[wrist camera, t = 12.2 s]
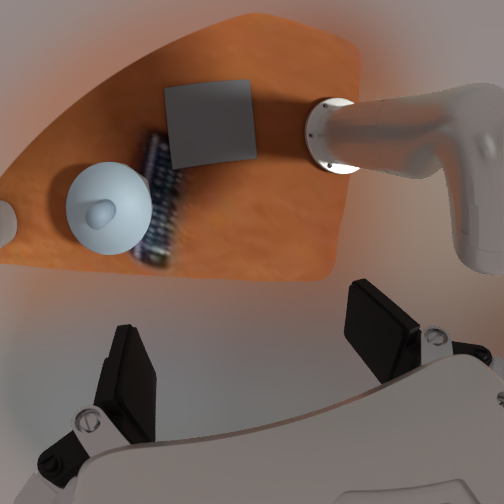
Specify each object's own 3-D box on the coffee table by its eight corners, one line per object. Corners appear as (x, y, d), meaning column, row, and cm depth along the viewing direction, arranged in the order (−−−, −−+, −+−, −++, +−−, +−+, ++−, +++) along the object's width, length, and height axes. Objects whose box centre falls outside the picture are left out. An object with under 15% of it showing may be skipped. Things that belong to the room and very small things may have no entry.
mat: (248, 80, 33) (249, 79, 33) (256, 158, 38) (257, 158, 37) (164, 89, 31) (164, 88, 31) (173, 169, 36) (172, 169, 35)
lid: (144, 152, 30) (137, 153, 25) (159, 244, 34) (155, 258, 30) (61, 173, 27) (44, 178, 23) (81, 258, 32) (68, 273, 28)
